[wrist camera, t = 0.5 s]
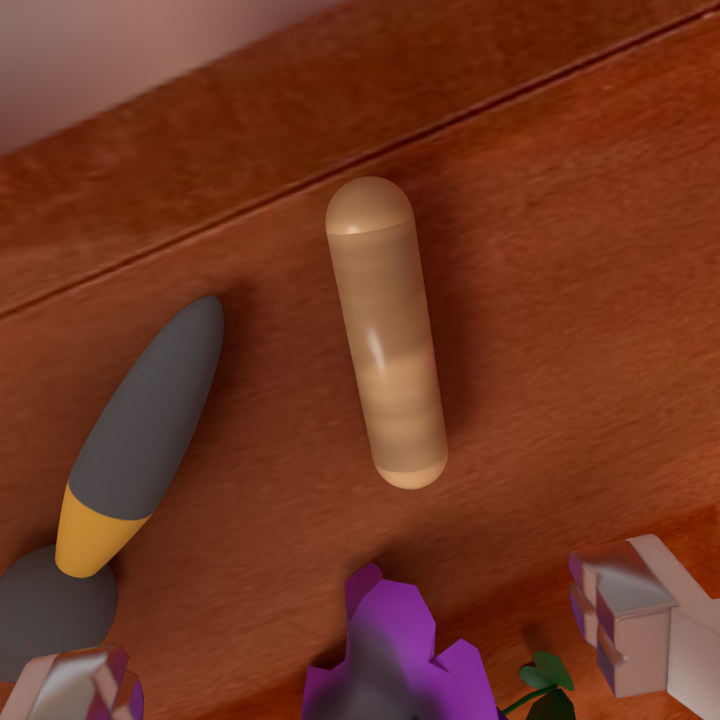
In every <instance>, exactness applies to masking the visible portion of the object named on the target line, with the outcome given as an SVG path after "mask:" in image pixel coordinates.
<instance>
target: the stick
mask: <svg viewBox="0 0 720 720" xmlns="http://www.w3.org/2000/svg"><path fill="white" fill-rule="evenodd" d="M325 228H326V234H327V239H328V244H329V249H330V254H331V259H332V264H333V269H334V273H335V278H336V283H337V288H338V293H339V298H340V303H341V307H342V312H343V317H344V322H345V327H346V332H347V337H348V342H349V346H350V351H351V356H352V361H353V366H354V371H355V376H356V380H357V385H358V390H359V395H360V400H361V405H362V410H363V415H364V419H365V424H366V429H367V434H368V439H369V444H370V449H371V453H372V458H373V461H374V464H375V467H376V469H377V471H378V472H379V474H380V475H381V476H382V477H383V478H384V479H385V480H386V481H387V482H389V483H390V484H392V485H394V486H396V487H398V488H402V489H419V488H423V487H425V486H427V485H429V484H431V483H432V482H434V481H435V480H436V479H437V478H438V477H439V476H440V474H441V473H442V472H443V470H444V467H445V465H446V463H447V458H448V443H447V436H446V429H445V422H444V416H443V409H442V402H441V395H440V388H439V382H438V375H437V368H436V361H435V354H434V347H433V341H432V334H431V327H430V320H429V313H428V307H427V300H426V293H425V286H424V279H423V272H422V266H421V259H420V252H419V245H418V238H417V231H416V225H415V218H414V213H413V209H412V206H411V204H410V201H409V199H408V197H407V196H406V195H405V193H404V192H403V191H402V190H401V189H400V188H399V187H398V186H397V185H396V184H394V183H392V182H391V181H389V180H387V179H384V178H381V177H374V176H365V177H360V178H356V179H353V180H351V181H349V182H347V183H346V184H344V185H343V186H342V187H341V188H339V189H338V190H337V192H336V193H335V194H334V195H333V197H332V199H331V201H330V203H329V205H328V208H327V212H326V217H325Z"/></svg>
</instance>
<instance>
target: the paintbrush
mask: <svg viewBox="0 0 720 720" xmlns="http://www.w3.org/2000/svg"><path fill="white" fill-rule="evenodd" d="M223 332H224V315H223V308H222V305H221V302H220V300H219V299H218V298H217V297H215V296H212V295H208V296H204V297H201V298H199V299H197V300H195V301H193V302H192V303H190V304H189V305H188V306H186V307H185V308H183V309H182V310H181V311H180V312H179V313H177V314H176V315H175V316H174V317H173V318H172V319H171V320H170V321H169V322H168V323H167V324H166V325H165V326H164V328H163V329H162V330H161V331H160V332H159V333H158V334H157V335H156V337H155V338H154V339H153V340H152V342H151V343H150V344H149V345H148V346H147V348H146V349H145V350H144V352H143V353H142V354H141V356H140V357H139V358H138V360H137V361H136V362H135V364H134V365H133V366H132V368H131V369H130V371H129V372H128V374H127V375H126V377H125V378H124V380H123V381H122V383H121V384H120V385H119V387H118V388H117V390H116V391H115V393H114V394H113V396H112V397H111V399H110V401H109V402H108V404H107V405H106V407H105V409H104V410H103V412H102V413H101V415H100V417H99V418H98V420H97V422H96V424H95V425H94V427H93V429H92V431H91V432H90V434H89V436H88V438H87V440H86V442H85V444H84V445H83V447H82V449H81V451H80V453H79V455H78V457H77V459H76V461H75V463H74V465H73V468H72V470H71V472H70V475H69V478H68V481H67V485H66V490H65V495H64V499H63V504H62V510H61V516H60V522H59V528H58V535H57V543H56V545H49V546H46V547H42V548H39V549H37V550H34V551H32V552H30V553H29V554H27V555H25V556H23V557H22V558H20V559H19V560H18V561H16V562H15V563H14V564H13V565H11V566H10V567H9V568H8V569H7V570H6V571H5V572H4V573H3V575H2V576H1V577H0V682H14V683H16V682H17V681H18V679H19V677H20V675H21V673H22V671H23V669H24V667H25V665H26V664H27V663H28V662H30V661H31V660H32V659H33V658H36V657H42V656H48V655H54V654H60V653H62V652H67V651H73V650H79V649H84V648H90V647H96V646H99V645H100V644H101V642H102V641H103V639H104V638H105V636H106V635H107V633H108V631H109V629H110V627H111V625H112V623H113V620H114V617H115V613H116V609H117V601H118V592H117V584H116V580H115V577H114V575H113V573H112V571H111V569H110V567H109V566H108V565H107V562H108V561H109V560H110V559H111V558H112V557H113V556H114V555H115V554H116V553H117V552H118V551H119V550H120V549H121V548H122V547H123V546H124V545H125V544H126V543H127V542H128V541H129V540H130V539H131V538H132V537H133V536H134V535H135V533H136V532H137V531H138V530H139V529H140V528H141V527H142V526H143V524H144V523H145V522H146V521H147V520H148V519H149V518H150V517H151V515H152V514H153V513H154V511H155V510H156V508H157V507H158V505H159V504H160V502H161V500H162V498H163V497H164V495H165V493H166V491H167V489H168V488H169V486H170V484H171V482H172V480H173V478H174V476H175V474H176V472H177V470H178V468H179V466H180V463H181V461H182V459H183V457H184V455H185V452H186V450H187V448H188V446H189V443H190V441H191V439H192V436H193V434H194V431H195V429H196V426H197V424H198V421H199V419H200V416H201V413H202V410H203V408H204V405H205V402H206V400H207V397H208V393H209V390H210V387H211V384H212V381H213V378H214V375H215V371H216V368H217V364H218V360H219V356H220V351H221V346H222V340H223Z"/></svg>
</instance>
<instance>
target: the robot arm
mask: <svg viewBox="0 0 720 720" xmlns="http://www.w3.org/2000/svg"><path fill="white" fill-rule="evenodd" d="M568 568H569V570H570V572H571V574H572V575H573V577H574V579H575V580H574V581H573V583H572V584H571V585H570V587H569V591H570V602H571V606H572V610H573V614H574V618H575V620H576V623H577V625H578V628H579V630H580V632H581V634H582V636H583V638H584V640H585V642H587V643H588V644H590V645H591V646H593V647H595V648H596V649H597V664H598V666H599V667H600V669H601V671H602V673H603V675H604V677H605V678H606V680H607V682H608V684H609V686H610V687H611V689H612V691H613V693H614V695H615V697H616V698H622V697H627V696H633V695H639V694H644V693H650V692H656V691H662V690H667V693H669V694H670V695H671V696H673V697H674V698H675V699H677V700H678V701H680V702H681V703H682V704H684V705H685V706H686V707H688V708H689V709H690V710H692V711H693V712H694V713H696V714H697V715H698V716H700V717H701V718H702V719H704V720H720V598H719V599H713V600H712V599H711V598H710V597H709V596H708V595H707V593H706V592H705V591H704V590H703V589H702V588H701V587H700V585H699V584H698V583H697V582H696V581H695V580H694V578H693V577H692V576H691V575H690V574H689V573H688V571H687V570H686V569H685V568H684V567H683V566H682V564H681V563H680V562H679V561H678V560H677V559H676V557H675V556H674V555H673V554H672V553H671V552H670V551H669V549H668V548H667V547H666V546H665V545H664V544H663V542H662V541H661V540H660V539H659V538H658V537H657V536H655V535H653V534H647V535H642V536H638V537H633V538H628V539H624V540H620V541H615V542H610V543H606V544H601V545H596V546H591V547H587V548H582V549H577V550H572V551H570V553H569V556H568ZM128 658H129V656H128V654H127V652H126V651H125V649H124V647H123V645H122V644H119V643H113V644H107V645H101V646H96V647H90V648H84V649H79V650H73V651H67V652H62V653H60V654H54V655H48V656H42V657H36V658H33V659H32V660H31V661H30V662H28V663H27V664H26V665H25V667H24V669H23V671H22V673H21V675H20V677H19V679H18V681H17V682H16V684H15V686H14V688H13V690H12V692H11V694H10V696H9V698H8V700H7V702H6V704H5V706H4V708H3V710H2V712H1V714H0V720H142V719H143V707H144V696H143V691H142V686H141V683H140V681H139V678H138V676H137V675H136V674H135V673H133V672H131V671H129V670H128V669H126V665H127V661H128Z"/></svg>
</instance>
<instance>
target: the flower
mask: <svg viewBox="0 0 720 720" xmlns="http://www.w3.org/2000/svg"><path fill="white" fill-rule="evenodd" d="M345 604H346V614H347V628H348V635H347V644H346V654H345V661H343V662H342V663H341V664H339V665H338V666H336V667H335V668H333V669H332V670H326V669H321V668H316V667H312V666H308V671H307V677H306V683H305V689H304V696H303V704H302V713H301V720H508V719H507V718H506V716H505V715H507V714H508V713H510V712H512V711H513V710H515V709H516V708H518V707H519V706H521V705H522V704H524V703H525V702H527V701H528V700H530V699H532V698H535V697H537V696H540V695H543V694H545V693H547V694H546V695H544V696H543V697H542V698H540V699H539V700H537V701H536V702H535V703H533V705H532V707H531V709H530V711H529V713H528V715H527V717H526V720H576V718H575V712H574V706H573V703H572V702H571V701H570V699H569V698H568V697H567V696H566V694H565V693H564V692H563V691H562V689H561V688H560V689H558V685H559V686H561V687H563V688H565V689H567V690H569V691H573V690H574V686H573V682H572V680H571V678H570V676H569V674H568V672H567V670H566V668H565V667H564V665H563V663H562V661H561V659H560V658H559V657H557V656H555V655H553V654H550V653H548V652H546V651H537V652H534V654H533V656H532V657H533V660H534V663H535V665H536V666H537V667H538V668H539V669H538V668H536V667H528V666H525V667H522V668H521V670H520V673H519V675H520V677H521V679H522V681H523V682H525V683H526V684H528V685H529V686H531V687H533V688H536V689H539V690H538V691H535V692H532V693H529V694H528V695H526V696H524V697H523V698H521V699H520V700H518V701H517V702H515V703H514V704H512V705H510V706H509V707H507V708H506V709H504V710H503V711H500V710H499V709H498V708H497V706H496V704H495V700H494V697H493V694H492V691H491V688H490V685H489V682H488V679H487V675H486V672H485V669H484V666H483V663H482V660H481V657H480V654H479V650H478V648H476V647H475V646H473V645H471V644H470V643H468V642H467V641H465V640H463V639H462V638H461V639H459V640H458V641H457V642H456V643H454V644H453V645H452V646H450V647H449V648H448V649H446V650H445V651H444V652H442V653H441V654H440V655H439V656H437V657H436V658H435V659H434V648H435V630H436V623H435V621H434V619H433V617H432V615H431V613H430V611H429V609H428V608H427V606H426V604H425V602H424V600H423V598H422V596H421V594H420V592H419V590H418V588H417V587H416V585H411V584H405V583H400V582H395V581H389V580H384V579H382V570H381V569H380V568H379V567H377V566H376V565H375V564H374V563H373V562H372V563H370V564H368V565H367V566H365V567H363V568H362V569H360V570H358V571H357V572H355V573H354V574H353V575H352V576H351V577H350V578H349V579H348V580H347V581H346V582H345ZM548 692H549V693H548Z"/></svg>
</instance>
